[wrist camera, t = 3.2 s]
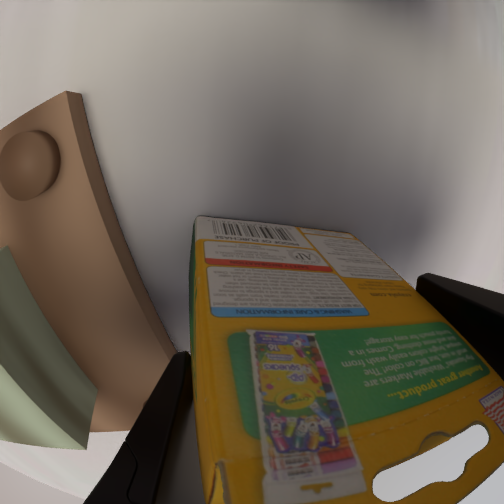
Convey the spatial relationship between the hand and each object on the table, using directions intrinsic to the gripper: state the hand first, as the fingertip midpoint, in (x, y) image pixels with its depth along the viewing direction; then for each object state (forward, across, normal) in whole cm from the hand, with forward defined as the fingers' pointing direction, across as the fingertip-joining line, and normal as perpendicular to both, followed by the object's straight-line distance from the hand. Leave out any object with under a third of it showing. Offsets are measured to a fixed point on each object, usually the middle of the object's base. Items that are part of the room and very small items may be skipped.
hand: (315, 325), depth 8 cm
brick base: (+5, +16, 0) cm, 17 cm away
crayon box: (+5, 0, 0) cm, 5 cm away
